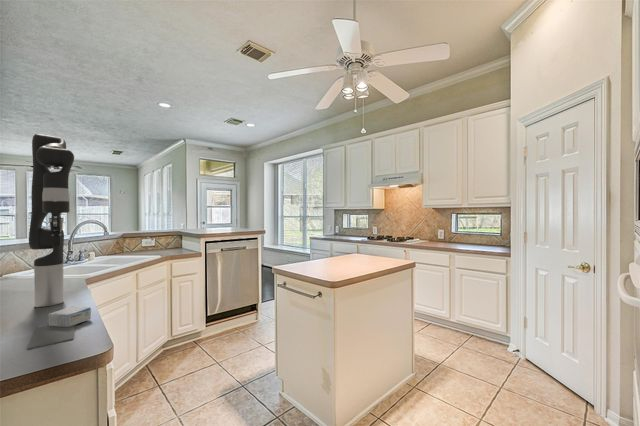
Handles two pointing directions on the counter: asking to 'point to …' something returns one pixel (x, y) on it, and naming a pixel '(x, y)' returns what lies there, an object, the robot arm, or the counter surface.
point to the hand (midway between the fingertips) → (56, 245)
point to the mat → (50, 336)
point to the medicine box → (69, 316)
